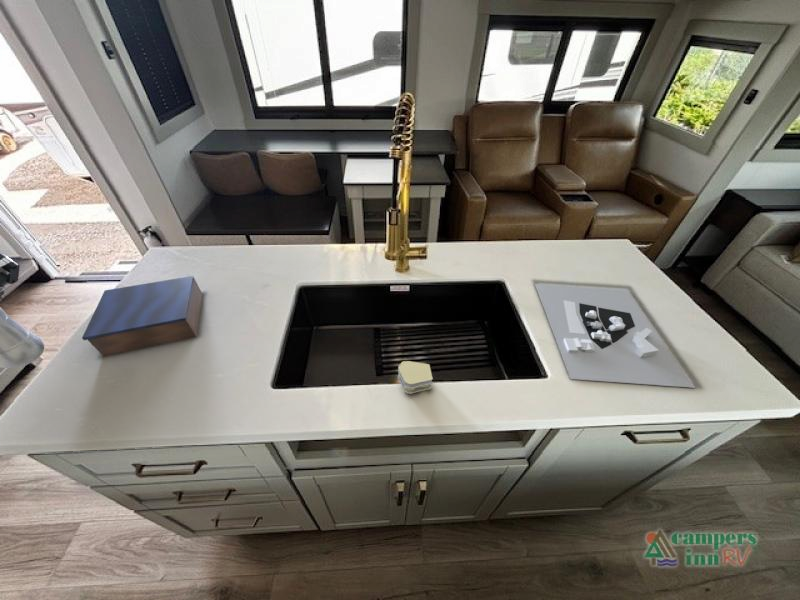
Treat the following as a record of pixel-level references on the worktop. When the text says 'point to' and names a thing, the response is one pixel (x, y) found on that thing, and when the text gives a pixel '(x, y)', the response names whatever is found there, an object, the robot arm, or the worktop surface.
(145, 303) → the box lid
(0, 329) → the plastic bottle
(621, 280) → the worktop surface
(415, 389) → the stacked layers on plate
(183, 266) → the worktop surface
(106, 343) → the lidded box
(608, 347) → the architectural model
